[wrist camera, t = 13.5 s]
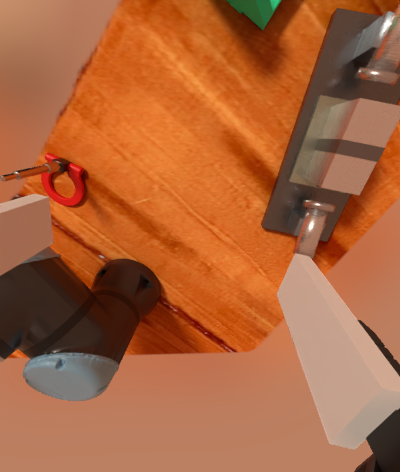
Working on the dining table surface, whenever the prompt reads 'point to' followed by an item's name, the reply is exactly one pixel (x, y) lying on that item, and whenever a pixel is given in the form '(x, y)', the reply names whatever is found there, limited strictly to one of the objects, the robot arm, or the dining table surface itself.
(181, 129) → the dining table surface
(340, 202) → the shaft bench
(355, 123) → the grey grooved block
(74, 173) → the tow hook
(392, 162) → the dining table surface
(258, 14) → the camera mount
